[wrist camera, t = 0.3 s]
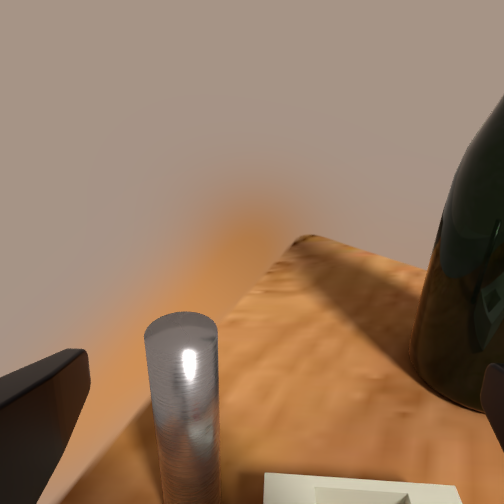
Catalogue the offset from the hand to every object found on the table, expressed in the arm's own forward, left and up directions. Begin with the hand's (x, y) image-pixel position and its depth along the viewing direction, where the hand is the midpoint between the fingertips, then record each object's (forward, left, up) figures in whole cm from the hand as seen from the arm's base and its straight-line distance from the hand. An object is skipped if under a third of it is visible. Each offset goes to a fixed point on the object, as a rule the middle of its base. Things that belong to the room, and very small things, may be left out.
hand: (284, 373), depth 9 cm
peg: (+7, +4, -17) cm, 19 cm away
